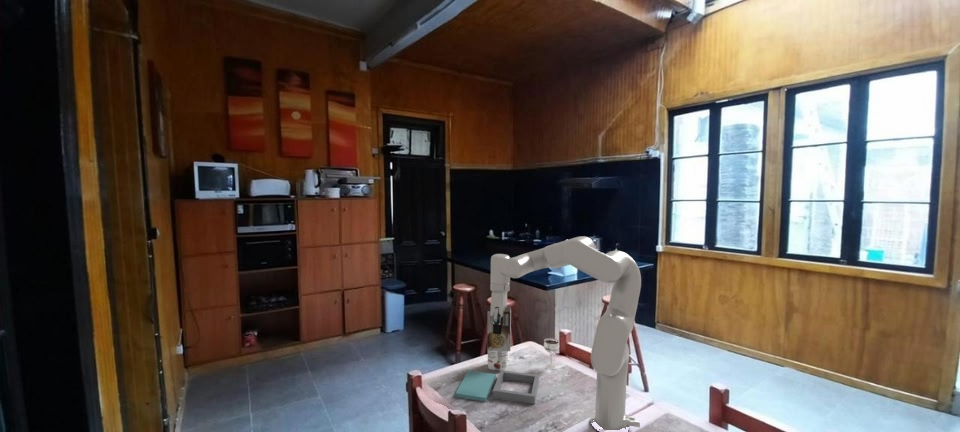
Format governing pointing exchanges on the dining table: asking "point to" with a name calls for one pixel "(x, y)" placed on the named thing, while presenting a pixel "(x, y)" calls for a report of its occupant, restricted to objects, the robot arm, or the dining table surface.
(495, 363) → the juice carton
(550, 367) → the wineglass
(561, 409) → the dining table surface
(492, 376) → the board
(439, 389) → the dining table surface
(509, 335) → the cookie box
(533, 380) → the holder
